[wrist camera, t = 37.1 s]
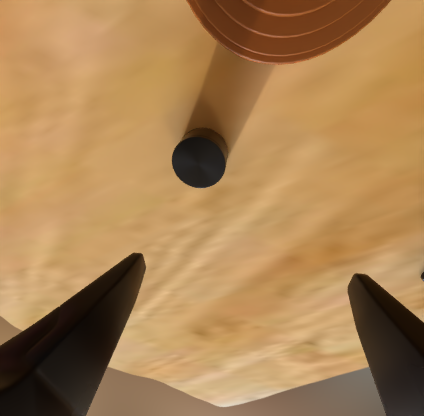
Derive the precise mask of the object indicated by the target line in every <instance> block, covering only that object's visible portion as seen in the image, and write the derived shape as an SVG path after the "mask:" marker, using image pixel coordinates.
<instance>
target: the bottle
mask: <svg viewBox="0 0 424 416" xmlns="http://www.w3.org/2000/svg"><path fill="white" fill-rule="evenodd" d="M390 1H391V0H187V2H188V4H189V5H190V7H191V9H192V11H193V13H194V14H195V16H196V17H197V18H198V20H199V21H200V23H201V24H202V25H203V27H204V28H205V29H206V30H207V31H208V32H209V33H210V34H211V36H212V37H213V38H214V39H215V40H217V41H218V42H219V43H220V44H222V45H223V46H224V47H225V48H227V49H228V50H230V51H231V52H233V53H235V54H236V55H238V56H240V57H241V58H243V59H246V60H248V61H253V62H258V63H264V64H278V65H280V64H291V63H297V62H301V61H305V60H309V59H312V58H314V57H317V56H319V55H322V54H324V53H326V52H328V51H330V50H332V49H334V48H336V47H338V46H339V45H341V44H342V43H344V42H345V41H347V40H348V39H350V38H351V37H353V36H354V35H355V34H357V33H358V32H359V31H360V30H361V29H363V28H364V27H365V26H366V25H367V24H369V23H370V22H371V21H372V20H373V19H374V18H375V17H376V16H377V15H378V14H379V13H380V12H381V11H382V10H383V9H384V8H385V7H386V6H387V4H388V3H389V2H390Z"/></svg>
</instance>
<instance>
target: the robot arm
mask: <svg viewBox="0 0 424 416" xmlns="http://www.w3.org/2000/svg"><path fill="white" fill-rule="evenodd" d="M145 270H146V265H145V261H144V257H143V254H141V253H132V254H131V255H129V256H128V257H126V258H125V259H124V260H122V261H121V262H120V263H118V264H117V265H115V266H114V267H113V268H111V269H110V270H109V271H107V272H106V273H104V274H103V275H102V276H100V277H99V278H97V279H96V280H95V281H93V282H92V283H91V284H89V285H88V286H86V287H85V288H84V289H82V290H81V291H80V292H78V293H77V294H75V295H74V296H73V297H71V298H70V299H68V300H67V301H66V302H64V303H63V304H62V305H60V307H57V308H56V309H55V310H53V311H52V312H50V313H49V314H48V315H46V316H45V317H43V318H42V319H40V320H39V321H38V322H36V323H35V324H33V325H32V326H30V327H29V328H27V329H26V330H24V331H22V332H21V333H19V334H18V335H16V336H15V337H13V338H12V339H10V340H8V341H7V342H5V343H4V344H2V345H0V416H86V414H87V412H88V410H89V407H90V405H91V403H92V400H93V398H94V396H95V394H96V391H97V389H98V387H99V384H100V382H101V380H102V377H103V375H104V373H105V371H106V368H107V366H108V364H109V362H110V359H111V357H112V355H113V352H114V350H115V348H116V346H117V343H118V341H119V339H120V336H121V334H122V332H123V330H124V327H125V325H126V323H127V320H128V318H129V316H130V314H131V311H132V309H133V307H134V304H135V302H136V299H137V296H138V293H139V289H140V286H141V283H142V280H143V277H144V274H145ZM421 279H422V280H423V281H424V272H423V274H422V275H421ZM348 295H349V299H350V304H351V308H352V313H353V317H354V321H355V325H356V329H357V332H358V335H359V338H360V341H361V344H362V347H363V350H364V353H365V355H366V358H367V361H368V364H369V367H370V370H371V373H372V376H373V378H374V381H375V384H376V387H377V390H378V393H379V396H380V399H381V401H382V404H383V407H384V410H385V413H386V416H424V322H422V321H421V320H420V319H419V318H418V317H416V316H415V315H414V314H413V313H412V312H411V311H409V310H408V309H407V308H406V307H405V306H403V305H402V304H401V303H400V302H399V301H397V300H396V299H395V298H394V297H393V296H392V295H390V294H389V293H388V292H387V291H386V290H384V289H383V288H382V287H381V286H380V285H378V284H377V283H376V282H375V281H374V280H373V279H371V278H370V277H369V276H368V275H366V274H358V273H356V274H354V275H353V277H352V279H351V281H350V283H349V285H348Z"/></svg>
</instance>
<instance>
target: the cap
mask: <svg viewBox="0 0 424 416" xmlns="http://www.w3.org/2000/svg"><path fill="white" fill-rule="evenodd" d="M227 157H228V149H227V145H226V143H225V141H224V139H223V138H222V137H221V136H220V135H219V134H218V133H217V132H215V131H213V130H211V129H207V128H197V129H194V130H192V131H190V132H188V133H187V134H186V135H185V136H184V138H183V139H182V140H181V141H180V142H179V144H178V145H177V146H176V148H175V150H174V152H173V155H172V165H173V169H174V171H175V173H176V175H177V176H178V177H179V179H180V180H181V181H183V182H184V183H185V184H187V185H189V186H192V187H195V188H206V187H210V186H212V185H214V184H216V183H217V182H218V181H219V180H220V179H221V178H222V176H223V174H224V172H225V167H226V162H227Z"/></svg>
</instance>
